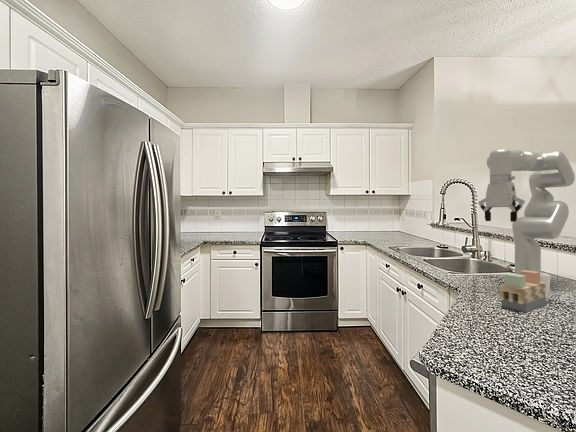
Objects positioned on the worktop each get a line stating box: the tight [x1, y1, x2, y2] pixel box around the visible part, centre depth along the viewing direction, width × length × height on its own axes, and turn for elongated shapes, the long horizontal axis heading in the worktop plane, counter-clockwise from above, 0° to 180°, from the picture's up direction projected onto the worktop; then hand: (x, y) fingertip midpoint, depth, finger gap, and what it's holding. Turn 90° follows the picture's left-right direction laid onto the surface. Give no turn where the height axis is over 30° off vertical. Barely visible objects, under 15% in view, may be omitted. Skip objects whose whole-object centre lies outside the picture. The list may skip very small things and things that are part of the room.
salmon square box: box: [520, 270, 540, 284], centre depth 121 cm, size 4×5×4 cm
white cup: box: [540, 272, 551, 302], centre depth 126 cm, size 8×8×10 cm
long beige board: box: [499, 282, 545, 304], centre depth 118 cm, size 18×7×5 cm, turn 121°
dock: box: [501, 297, 547, 313], centre depth 118 cm, size 15×8×3 cm, turn 121°
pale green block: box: [504, 273, 526, 288], centre depth 115 cm, size 4×5×4 cm
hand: (500, 221), depth 134 cm, fingers open, 9 cm apart
